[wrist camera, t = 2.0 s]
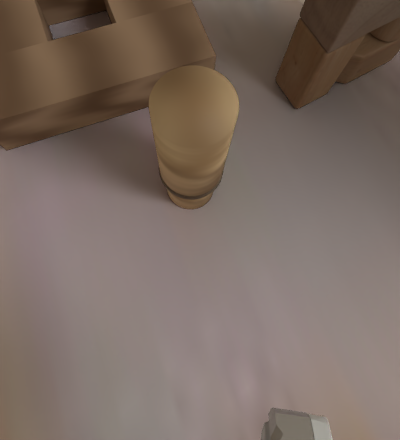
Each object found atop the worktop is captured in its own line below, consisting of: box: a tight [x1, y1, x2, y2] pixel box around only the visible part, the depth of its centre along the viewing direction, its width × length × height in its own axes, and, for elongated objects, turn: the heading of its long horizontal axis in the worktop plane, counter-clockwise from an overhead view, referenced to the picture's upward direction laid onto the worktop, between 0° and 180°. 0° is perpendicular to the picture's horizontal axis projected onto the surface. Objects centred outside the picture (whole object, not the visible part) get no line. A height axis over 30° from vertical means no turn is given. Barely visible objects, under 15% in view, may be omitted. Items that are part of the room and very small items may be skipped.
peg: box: [149, 65, 239, 209], centre depth 23 cm, size 4×4×12 cm
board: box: [0, 0, 216, 150], centre depth 30 cm, size 18×16×4 cm
